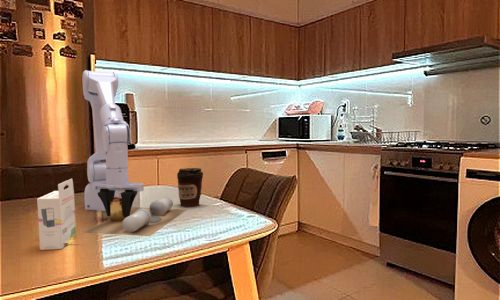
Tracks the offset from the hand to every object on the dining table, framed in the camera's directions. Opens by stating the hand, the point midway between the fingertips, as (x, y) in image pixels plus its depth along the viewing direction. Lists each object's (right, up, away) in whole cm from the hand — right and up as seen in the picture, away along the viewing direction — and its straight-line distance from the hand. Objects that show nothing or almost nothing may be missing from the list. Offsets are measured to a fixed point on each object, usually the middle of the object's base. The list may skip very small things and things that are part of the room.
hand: (118, 216), depth 101 cm
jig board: (+6, -2, 0) cm, 6 cm away
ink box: (-8, -4, -17) cm, 19 cm away
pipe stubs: (+9, -2, 0) cm, 9 cm away
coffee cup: (+17, -1, +17) cm, 25 cm away
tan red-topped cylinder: (0, -1, 0) cm, 1 cm away
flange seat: (+9, -1, 0) cm, 9 cm away
